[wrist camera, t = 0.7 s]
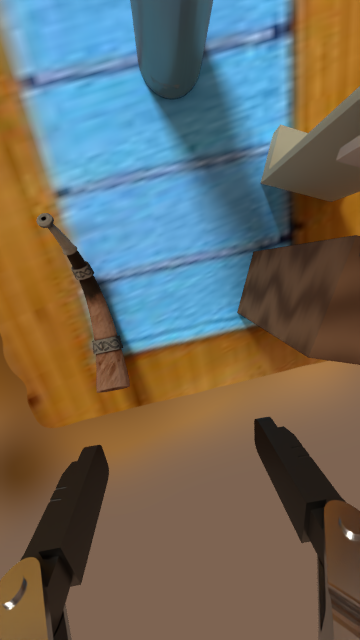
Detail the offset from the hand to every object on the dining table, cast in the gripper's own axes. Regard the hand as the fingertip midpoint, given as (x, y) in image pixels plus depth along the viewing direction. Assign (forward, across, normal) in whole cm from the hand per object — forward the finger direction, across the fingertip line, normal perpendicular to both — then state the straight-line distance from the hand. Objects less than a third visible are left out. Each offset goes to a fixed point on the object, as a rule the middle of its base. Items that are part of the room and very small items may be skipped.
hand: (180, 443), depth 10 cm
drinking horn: (+29, +13, -2) cm, 32 cm away
